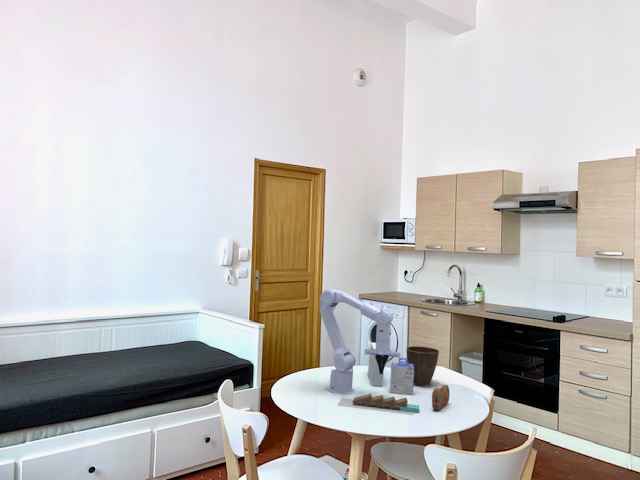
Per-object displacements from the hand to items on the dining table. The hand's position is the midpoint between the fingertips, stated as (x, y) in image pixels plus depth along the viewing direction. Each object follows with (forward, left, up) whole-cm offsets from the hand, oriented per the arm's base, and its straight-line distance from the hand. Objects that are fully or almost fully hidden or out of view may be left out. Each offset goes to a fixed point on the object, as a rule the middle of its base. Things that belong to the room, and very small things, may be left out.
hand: (381, 373), depth 203 cm
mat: (-1, -11, -10) cm, 15 cm away
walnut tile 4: (+5, -11, -9) cm, 15 cm away
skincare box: (-5, +28, -11) cm, 30 cm away
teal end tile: (+9, -11, -9) cm, 17 cm away
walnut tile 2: (-5, -11, -9) cm, 15 cm away
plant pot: (+16, +30, -11) cm, 36 cm away
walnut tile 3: (0, -11, -9) cm, 14 cm away
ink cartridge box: (+8, +13, -11) cm, 19 cm away
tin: (+24, -2, -11) cm, 26 cm away
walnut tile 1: (-9, -11, -9) cm, 17 cm away
